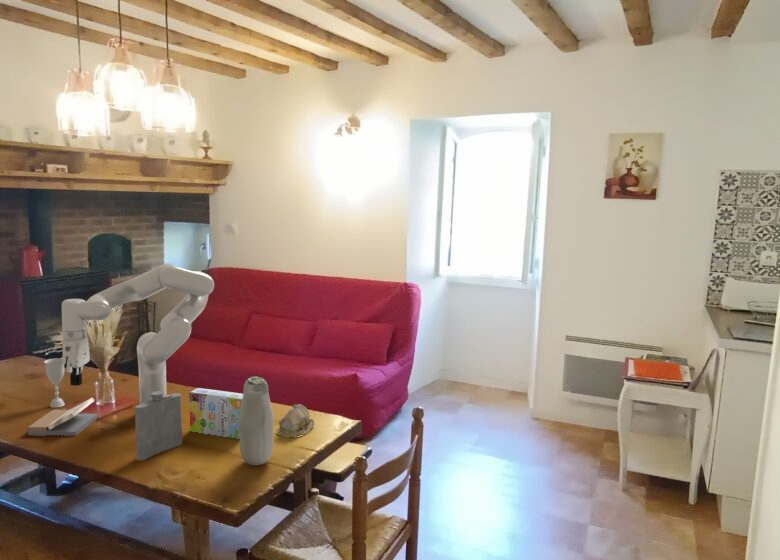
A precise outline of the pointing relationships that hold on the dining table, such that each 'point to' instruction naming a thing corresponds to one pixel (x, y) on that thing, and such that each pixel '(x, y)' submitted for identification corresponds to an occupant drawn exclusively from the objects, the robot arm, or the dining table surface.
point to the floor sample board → (65, 428)
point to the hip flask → (158, 424)
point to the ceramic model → (295, 422)
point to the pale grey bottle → (256, 422)
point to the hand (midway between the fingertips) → (76, 384)
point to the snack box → (215, 412)
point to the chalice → (55, 378)
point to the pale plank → (70, 413)
